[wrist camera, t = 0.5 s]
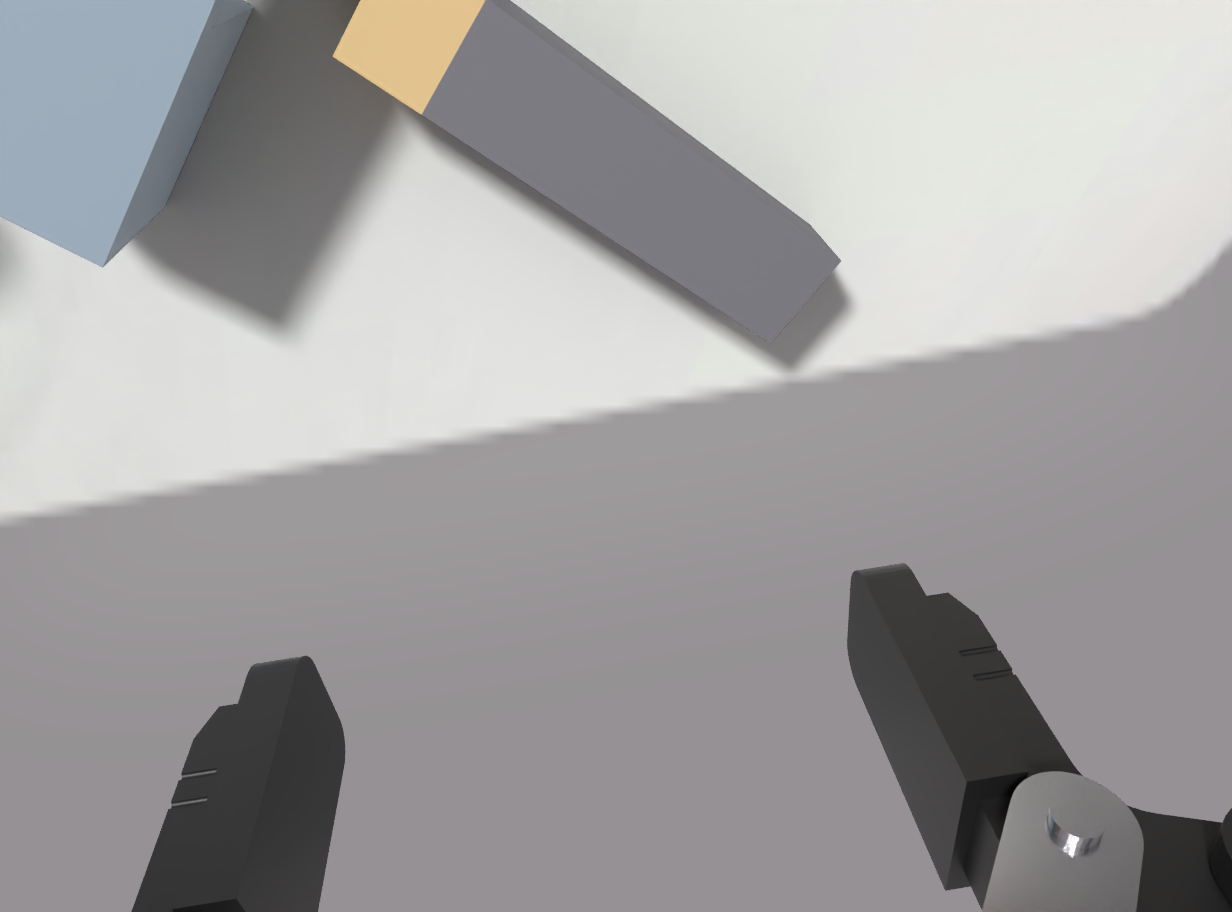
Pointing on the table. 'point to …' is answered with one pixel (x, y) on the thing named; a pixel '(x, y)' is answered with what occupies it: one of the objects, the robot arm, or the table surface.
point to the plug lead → (592, 150)
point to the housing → (104, 110)
